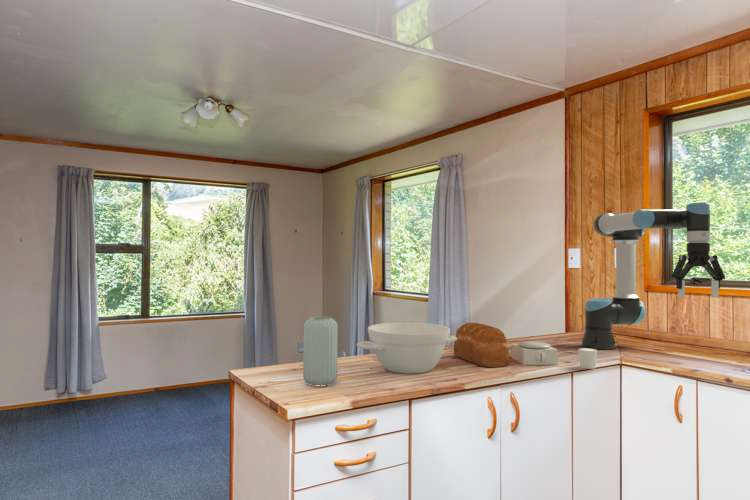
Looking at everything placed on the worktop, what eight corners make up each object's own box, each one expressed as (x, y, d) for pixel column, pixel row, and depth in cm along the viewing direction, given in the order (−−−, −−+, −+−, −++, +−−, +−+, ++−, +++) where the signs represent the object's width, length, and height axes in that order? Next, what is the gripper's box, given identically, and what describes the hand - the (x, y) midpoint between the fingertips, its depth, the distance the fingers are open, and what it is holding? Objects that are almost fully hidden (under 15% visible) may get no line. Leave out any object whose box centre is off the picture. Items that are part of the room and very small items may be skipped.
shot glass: (578, 368, 192) (578, 350, 193) (578, 364, 199) (578, 347, 199) (597, 369, 190) (597, 351, 190) (597, 366, 196) (597, 348, 196)
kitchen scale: (511, 357, 212) (511, 341, 212) (543, 357, 213) (543, 341, 213) (524, 365, 197) (524, 347, 197) (558, 364, 198) (558, 347, 198)
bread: (477, 353, 220) (478, 319, 221) (513, 366, 196) (513, 327, 196) (450, 355, 216) (450, 320, 216) (483, 369, 191) (483, 328, 191)
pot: (379, 385, 166) (379, 338, 166) (339, 366, 194) (340, 326, 194) (479, 371, 187) (479, 329, 187) (430, 355, 215) (431, 319, 215)
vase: (296, 386, 164) (297, 319, 164) (313, 378, 175) (313, 315, 175) (328, 389, 160) (328, 321, 160) (342, 381, 170) (343, 316, 171)
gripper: (673, 241, 186) (673, 298, 186) (736, 242, 188) (736, 298, 187) (660, 242, 193) (660, 296, 193) (721, 242, 195) (721, 296, 195)
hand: (698, 297), depth 190 cm, fingers open, 13 cm apart
